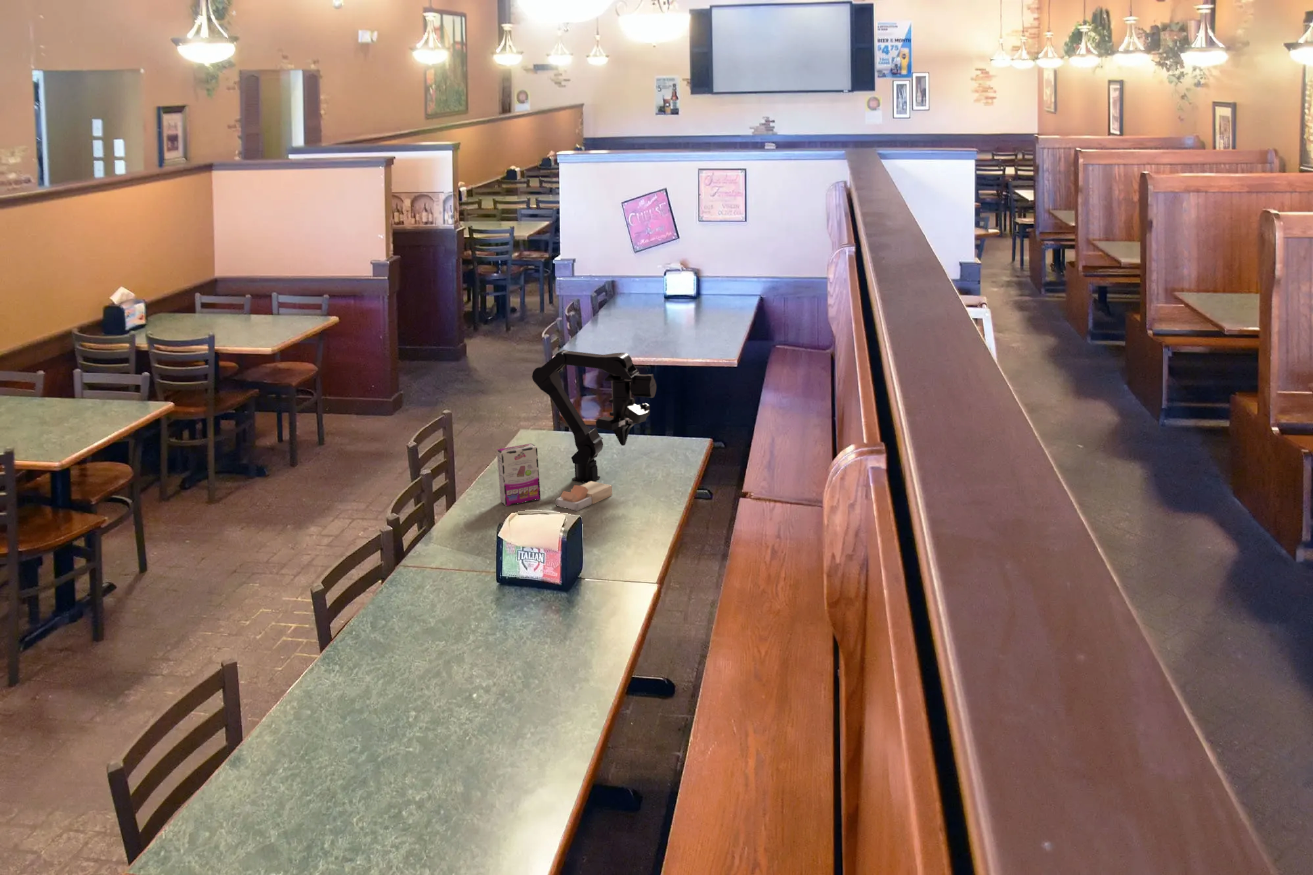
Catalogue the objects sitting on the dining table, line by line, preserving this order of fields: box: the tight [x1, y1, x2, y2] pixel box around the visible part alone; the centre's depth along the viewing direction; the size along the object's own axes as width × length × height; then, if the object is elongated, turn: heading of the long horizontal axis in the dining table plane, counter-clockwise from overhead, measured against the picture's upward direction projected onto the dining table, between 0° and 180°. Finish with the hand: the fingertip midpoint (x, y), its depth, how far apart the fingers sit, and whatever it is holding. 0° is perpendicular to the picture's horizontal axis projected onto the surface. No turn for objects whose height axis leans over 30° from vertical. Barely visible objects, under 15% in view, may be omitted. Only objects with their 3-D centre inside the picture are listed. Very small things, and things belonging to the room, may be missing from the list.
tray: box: [555, 496, 593, 512], centre depth 332 cm, size 8×7×2 cm
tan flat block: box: [570, 481, 613, 505], centre depth 338 cm, size 8×9×3 cm
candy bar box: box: [496, 443, 542, 507], centre depth 334 cm, size 11×5×16 cm, turn 117°
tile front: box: [560, 490, 580, 502], centre depth 330 cm, size 4×4×2 cm
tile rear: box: [570, 484, 588, 500], centre depth 333 cm, size 4×4×2 cm
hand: (623, 445), depth 347 cm, fingers closed
